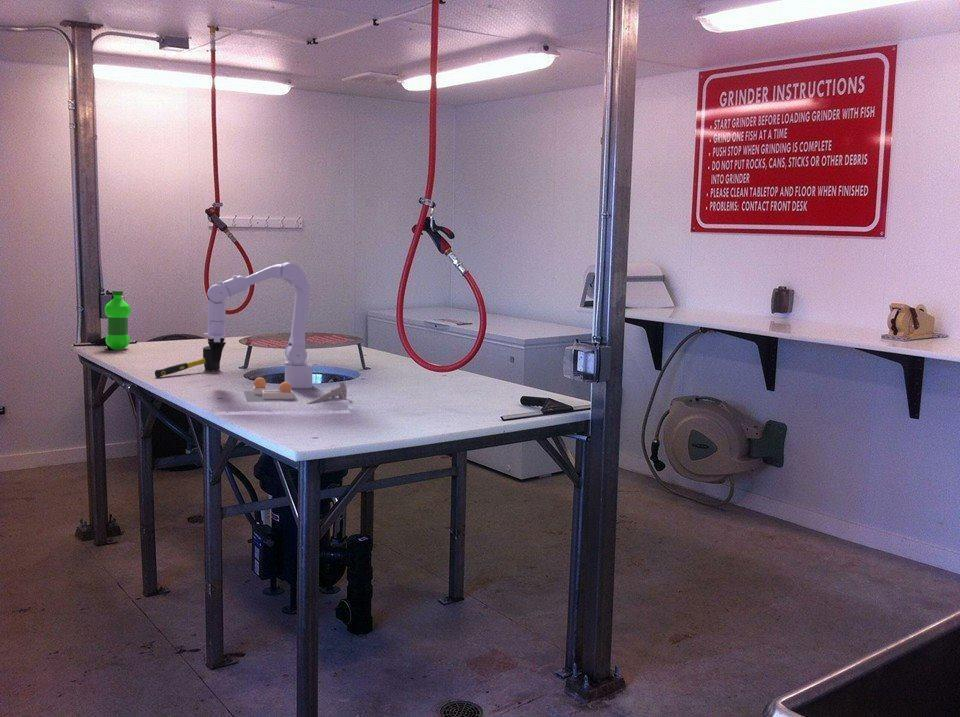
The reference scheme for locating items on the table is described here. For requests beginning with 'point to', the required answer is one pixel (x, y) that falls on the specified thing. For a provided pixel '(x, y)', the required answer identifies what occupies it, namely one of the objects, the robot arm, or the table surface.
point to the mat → (258, 398)
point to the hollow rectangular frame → (277, 394)
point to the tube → (258, 390)
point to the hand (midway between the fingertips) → (216, 360)
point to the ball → (260, 382)
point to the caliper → (332, 393)
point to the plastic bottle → (117, 321)
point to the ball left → (285, 387)
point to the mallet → (191, 364)
